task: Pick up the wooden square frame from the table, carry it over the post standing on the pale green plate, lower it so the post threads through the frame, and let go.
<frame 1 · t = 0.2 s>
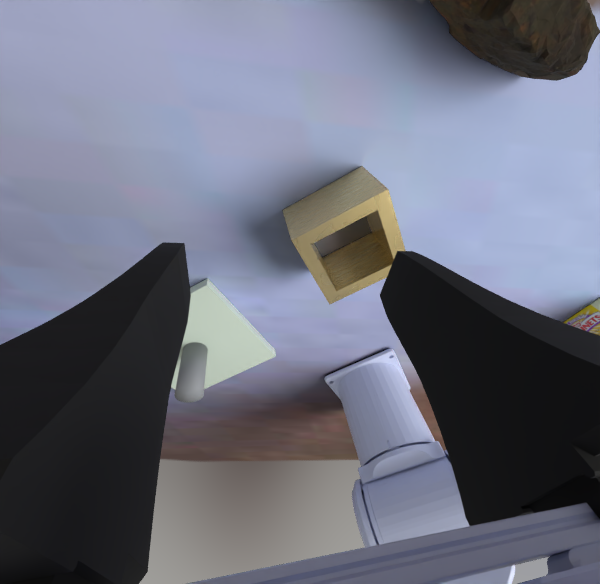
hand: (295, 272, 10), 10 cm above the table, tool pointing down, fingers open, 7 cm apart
wooden square frame: (336, 223, 20), on the table
candy box: (535, 341, 35), on the table
post plate: (196, 342, 25), on the table
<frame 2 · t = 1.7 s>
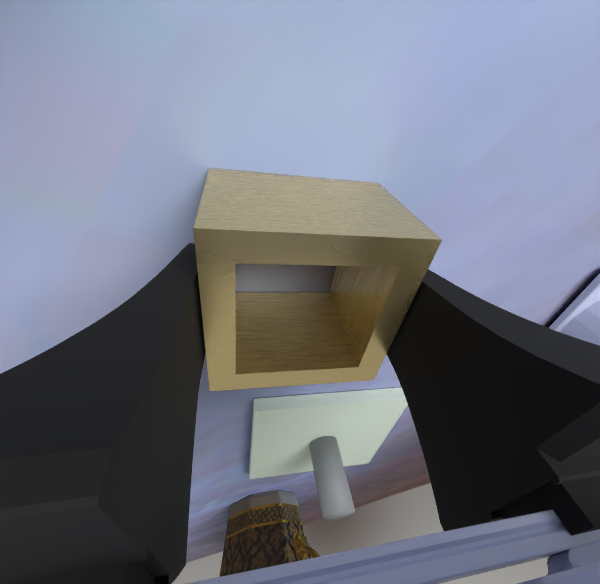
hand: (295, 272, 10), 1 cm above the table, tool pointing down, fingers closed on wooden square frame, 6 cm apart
wooden square frame: (289, 251, 11), on the table, touching gripper
post plate: (320, 431, 21), on the table
ceramic cup: (274, 495, 29), on the table
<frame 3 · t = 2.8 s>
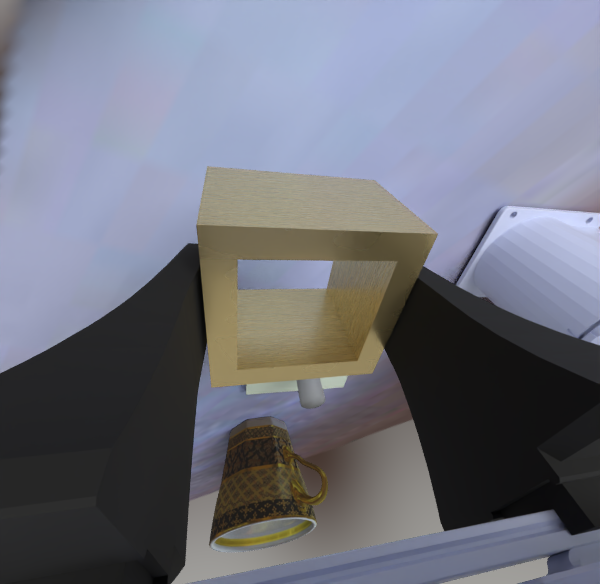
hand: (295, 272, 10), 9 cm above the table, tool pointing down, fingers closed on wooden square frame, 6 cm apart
wooden square frame: (287, 248, 11), point 7 cm above the table, touching gripper
post plate: (302, 352, 27), on the table
ceramic cup: (267, 423, 34), on the table
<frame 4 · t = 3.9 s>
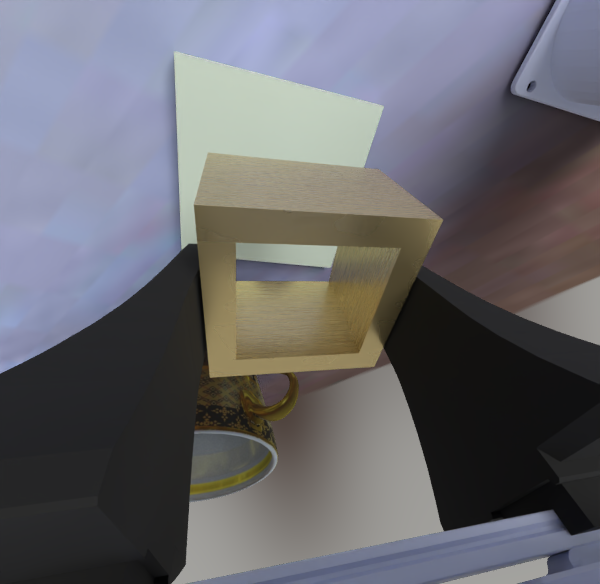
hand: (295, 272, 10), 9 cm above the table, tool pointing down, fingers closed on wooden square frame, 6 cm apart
wooden square frame: (289, 239, 11), point 8 cm above the table, touching gripper
post plate: (271, 183, 17), on the table
ceramic cup: (220, 333, 24), on the table
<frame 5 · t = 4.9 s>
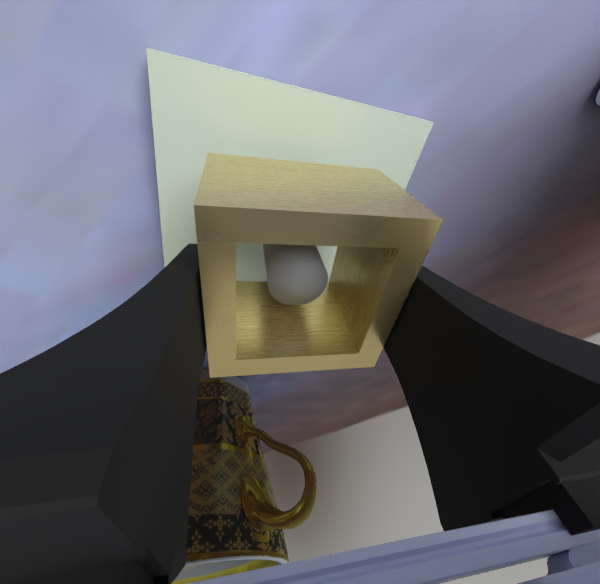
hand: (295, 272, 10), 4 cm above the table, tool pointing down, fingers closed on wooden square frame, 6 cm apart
wooden square frame: (289, 239, 11), point 3 cm above the table, touching gripper
post plate: (281, 217, 13), on the table
ceramic cup: (217, 383, 21), on the table
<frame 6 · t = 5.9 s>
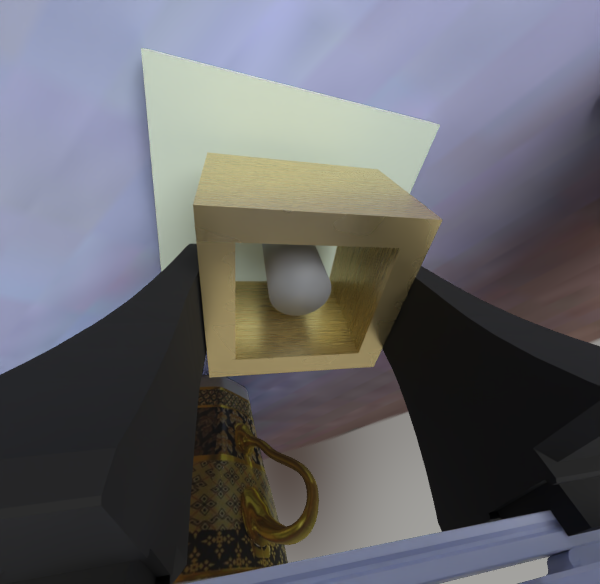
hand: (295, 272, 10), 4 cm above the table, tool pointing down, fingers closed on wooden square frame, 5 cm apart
wooden square frame: (288, 239, 11), point 2 cm above the table, touching gripper
post plate: (281, 222, 13), on the table
ceramic cup: (216, 389, 20), on the table
when the fingers open (4 cm above the table, at t = 6.1 s): wooden square frame drops 1 cm, resting on post plate.
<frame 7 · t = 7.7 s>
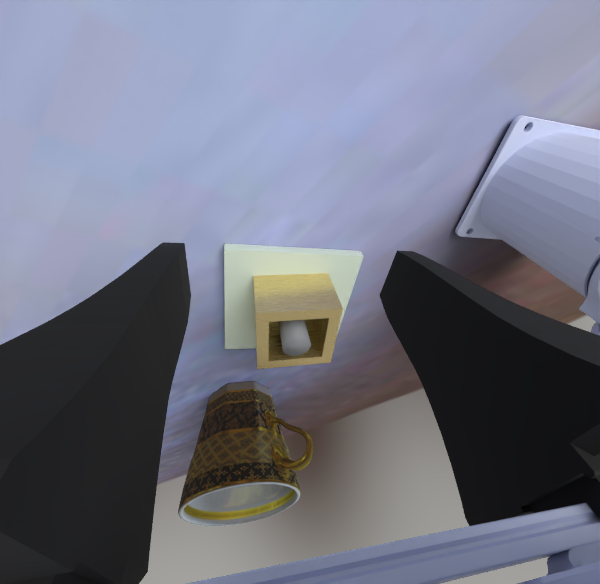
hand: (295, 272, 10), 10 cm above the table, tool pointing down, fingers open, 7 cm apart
wooden square frame: (289, 302, 23), point 1 cm above the table, touching post plate
post plate: (287, 300, 24), on the table
ceramic cup: (250, 390, 31), on the table
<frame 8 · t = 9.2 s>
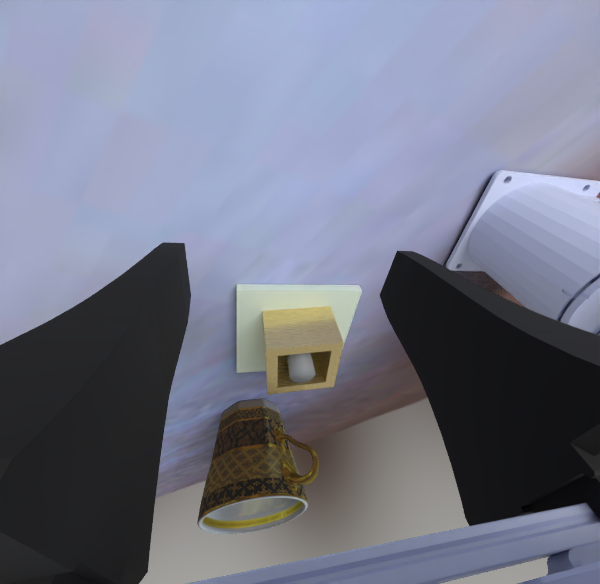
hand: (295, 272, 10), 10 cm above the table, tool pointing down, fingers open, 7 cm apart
wooden square frame: (295, 332, 25), point 1 cm above the table, touching post plate
post plate: (293, 328, 26), on the table
ceramic cup: (259, 406, 34), on the table
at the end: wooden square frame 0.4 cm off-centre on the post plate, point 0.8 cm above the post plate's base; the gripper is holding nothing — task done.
